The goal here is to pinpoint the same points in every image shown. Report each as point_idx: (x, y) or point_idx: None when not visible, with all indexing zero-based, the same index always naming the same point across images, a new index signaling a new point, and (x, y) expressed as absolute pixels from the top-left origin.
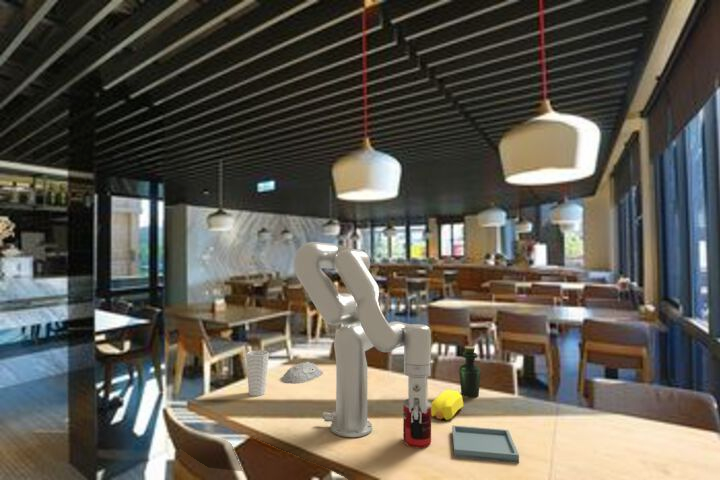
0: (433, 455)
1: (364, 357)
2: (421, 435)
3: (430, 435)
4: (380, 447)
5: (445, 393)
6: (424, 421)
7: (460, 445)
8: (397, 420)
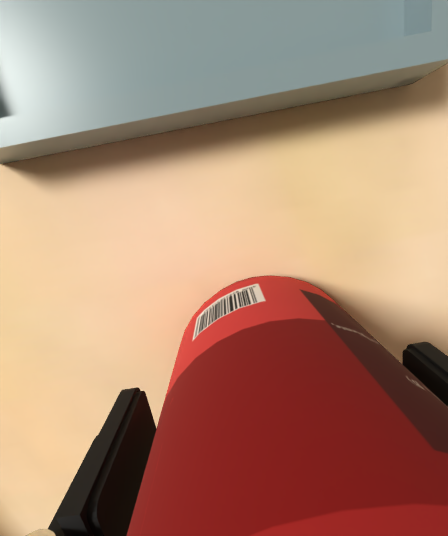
0: (412, 227)
1: None
2: (437, 356)
3: (295, 292)
4: None
5: None
6: None
7: (264, 44)
8: (20, 495)
